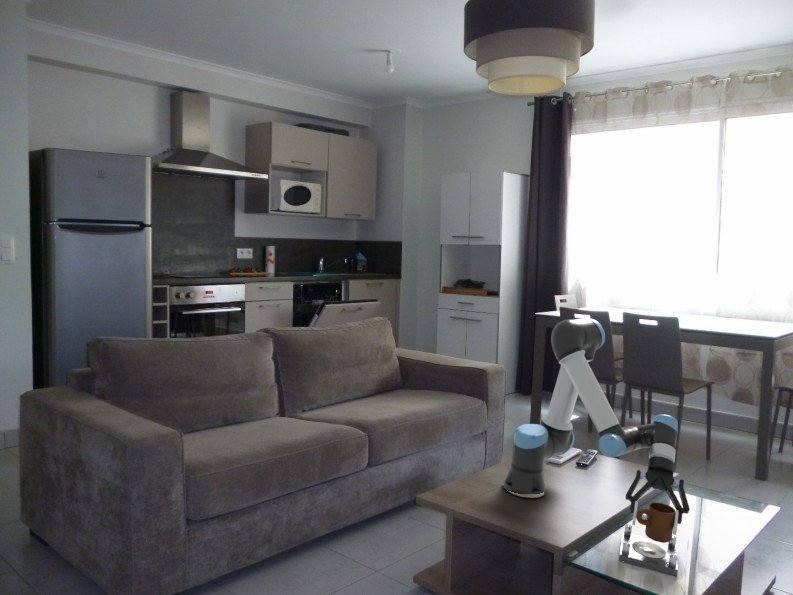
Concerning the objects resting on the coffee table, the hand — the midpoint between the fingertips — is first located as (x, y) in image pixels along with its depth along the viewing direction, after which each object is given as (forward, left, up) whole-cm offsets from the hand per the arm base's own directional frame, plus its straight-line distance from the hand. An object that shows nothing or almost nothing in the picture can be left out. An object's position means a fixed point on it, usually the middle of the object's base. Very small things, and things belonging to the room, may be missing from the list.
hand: (654, 528), depth 195 cm
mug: (0, +3, -4) cm, 5 cm away
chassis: (0, +3, -11) cm, 11 cm away
